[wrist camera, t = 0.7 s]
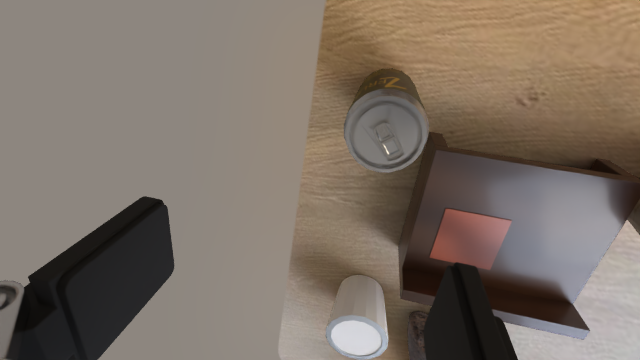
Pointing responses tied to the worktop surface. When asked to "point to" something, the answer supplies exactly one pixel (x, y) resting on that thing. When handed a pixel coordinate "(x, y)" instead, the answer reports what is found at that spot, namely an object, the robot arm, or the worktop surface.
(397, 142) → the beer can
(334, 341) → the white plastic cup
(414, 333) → the perforated stone tool
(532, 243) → the shelf
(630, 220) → the sandal
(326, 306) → the worktop surface
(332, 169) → the worktop surface
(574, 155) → the worktop surface
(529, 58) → the worktop surface
